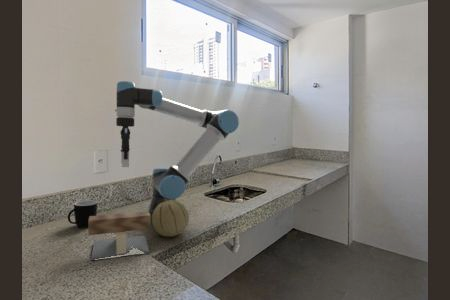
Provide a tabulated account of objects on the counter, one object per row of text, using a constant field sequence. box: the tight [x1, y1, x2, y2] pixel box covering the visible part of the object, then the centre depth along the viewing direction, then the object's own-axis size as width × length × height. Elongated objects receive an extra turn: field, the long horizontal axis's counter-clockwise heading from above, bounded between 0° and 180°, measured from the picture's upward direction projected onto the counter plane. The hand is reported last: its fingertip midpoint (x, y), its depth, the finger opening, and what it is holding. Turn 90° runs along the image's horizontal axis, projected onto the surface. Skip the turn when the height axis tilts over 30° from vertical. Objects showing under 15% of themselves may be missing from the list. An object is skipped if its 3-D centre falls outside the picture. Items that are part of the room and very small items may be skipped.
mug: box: [67, 199, 98, 228], centre depth 114 cm, size 12×9×10 cm
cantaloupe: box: [151, 199, 190, 238], centre depth 108 cm, size 15×15×15 cm
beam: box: [87, 210, 152, 236], centre depth 94 cm, size 20×5×5 cm, turn 113°
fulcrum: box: [90, 231, 150, 261], centre depth 95 cm, size 18×14×7 cm
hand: (124, 165), depth 119 cm, fingers open, 13 cm apart
